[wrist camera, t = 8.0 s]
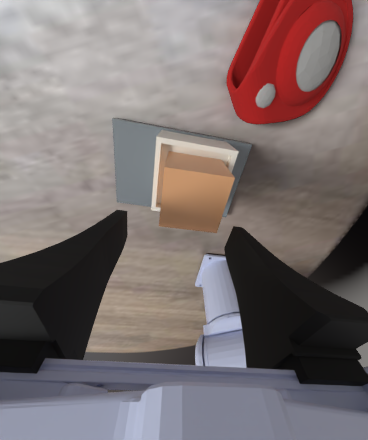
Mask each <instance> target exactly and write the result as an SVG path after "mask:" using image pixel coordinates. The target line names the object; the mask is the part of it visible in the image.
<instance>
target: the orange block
mask: <svg viewBox="0 0 368 440" xmlns="http://www.w3.org/2000/svg"><path fill="white" fill-rule="evenodd" d="M234 179H235V177H234V176H233V174H232V173H231V172H230V170H229V169H228V168H227V166H226V165H225V164H224V162H223V161H222V160H220V159H214V158H208V157H201V156H195V155H189V154H183V153H177V152H171V151H169V152H168V156H167V160H166V163H165V167H164V177H163V188H162V198H161V209H160V220H159V226H162V227H170V228H179V229H187V230H196V231H204V232H213V233H217V230H218V227H219V224H220V221H221V218H222V215H223V212H224V209H225V206H226V203H227V200H228V197H229V194H230V191H231V188H232V185H233V182H234Z"/></svg>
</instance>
